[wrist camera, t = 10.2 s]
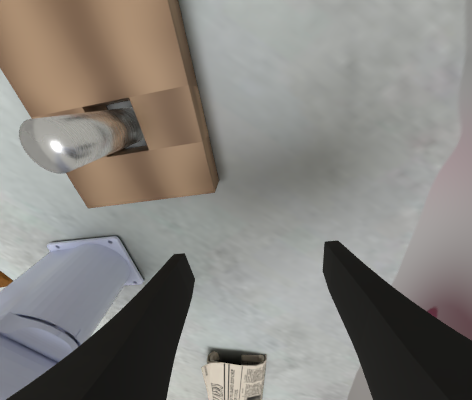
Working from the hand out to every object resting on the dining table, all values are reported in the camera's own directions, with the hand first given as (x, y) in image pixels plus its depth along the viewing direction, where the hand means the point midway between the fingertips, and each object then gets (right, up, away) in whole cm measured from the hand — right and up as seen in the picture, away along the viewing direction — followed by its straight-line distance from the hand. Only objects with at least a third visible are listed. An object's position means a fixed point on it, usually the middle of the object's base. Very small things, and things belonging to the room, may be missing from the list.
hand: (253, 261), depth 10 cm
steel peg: (-9, +10, +6) cm, 15 cm away
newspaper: (-1, -38, +33) cm, 50 cm away
